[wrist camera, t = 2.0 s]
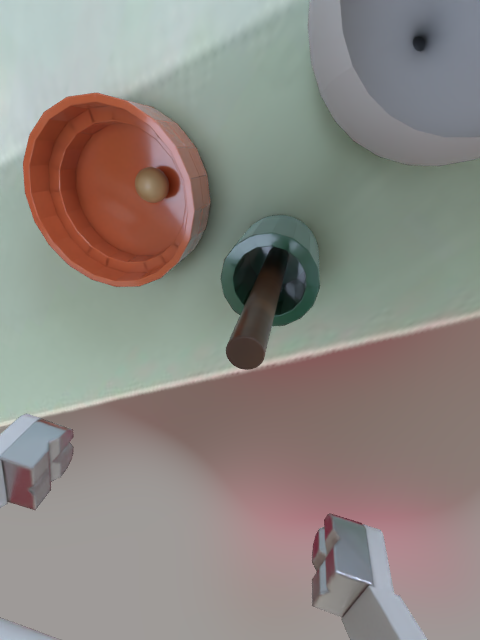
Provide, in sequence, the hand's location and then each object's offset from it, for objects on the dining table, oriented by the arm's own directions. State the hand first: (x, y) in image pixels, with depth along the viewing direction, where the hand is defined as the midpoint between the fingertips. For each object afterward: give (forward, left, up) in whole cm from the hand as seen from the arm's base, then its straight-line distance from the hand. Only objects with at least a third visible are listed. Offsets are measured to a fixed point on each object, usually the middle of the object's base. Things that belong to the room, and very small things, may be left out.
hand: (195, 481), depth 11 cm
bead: (+12, -4, -24) cm, 27 cm away
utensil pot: (0, 0, -26) cm, 26 cm away
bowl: (+15, -2, -26) cm, 30 cm away
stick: (0, 0, -26) cm, 26 cm away
